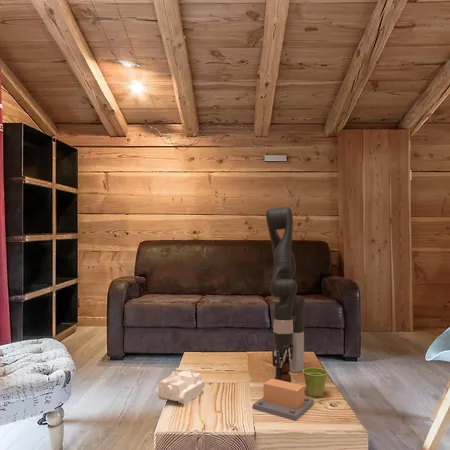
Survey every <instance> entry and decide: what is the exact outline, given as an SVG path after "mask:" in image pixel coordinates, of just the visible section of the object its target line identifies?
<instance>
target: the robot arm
mask: <svg viewBox="0 0 450 450" xmlns="http://www.w3.org/2000/svg"><path fill="white" fill-rule="evenodd" d="M265 214H266V215H265V217H266V218H265V220H266V225H267V230H268V234H269V238H270V243H271V248H272V256H273V272H272V273H273V274H272V278H271V281H270V283H269V293H270V295H271V296H272V297H274V298H278V303H276V304H274V306H273V307H274V308H273V312H274V313H273V315H274V316H273V326H272V327H273V331H272V332H273V333H272V334H273V340H272V342H273V343H274V344H276V348H275V350H274V349H273V350H272V352H271V355H272V367H275V376H276V377H280V378H281V377H282V364H283V362H286V363H288V364H289V371H288V372H289V373H299V372H300V373H302V372H303V369H305V364H304V363H305V315H306V312H305V311H306V301H305V300H306V299H305V298H304V297H303V296H302V295H297V292H298V282H297V281H296V280H295V279H293V277H294V276H295V274H296V271H297V266H296V258H295V254H294V253H293V251H292V242H293V231H294V217H293V216H294V215H293V210H292V209H291V207H288V206H285V207H284V206H283V207H275V208H269V209H267V210H266V213H265ZM277 230H284V233H283V236H282V237H280V235H279V233H278V231H277ZM293 317H294V320H293Z"/></svg>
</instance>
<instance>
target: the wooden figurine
mask: <svg viewBox="0 0 450 450" xmlns="http://www.w3.org/2000/svg"><path fill="white" fill-rule="evenodd" d="M288 371H289V364H288V363H286V362H283V364H282V377H281V378H280V377H276V375H275V376H274V379H277V380H281V381H286V382H290V383H292V375H291V373H290V372H288Z"/></svg>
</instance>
